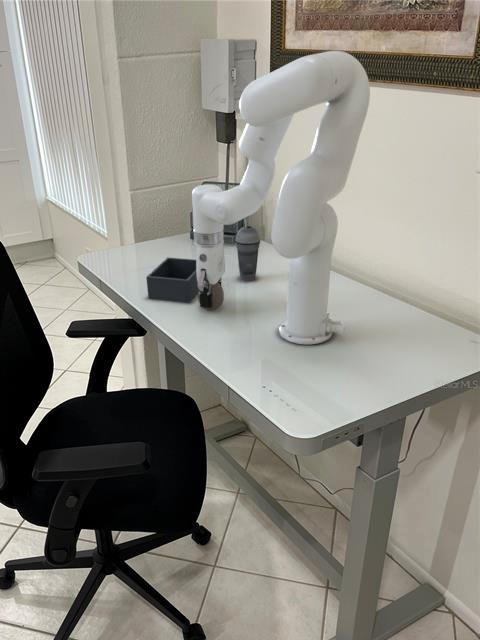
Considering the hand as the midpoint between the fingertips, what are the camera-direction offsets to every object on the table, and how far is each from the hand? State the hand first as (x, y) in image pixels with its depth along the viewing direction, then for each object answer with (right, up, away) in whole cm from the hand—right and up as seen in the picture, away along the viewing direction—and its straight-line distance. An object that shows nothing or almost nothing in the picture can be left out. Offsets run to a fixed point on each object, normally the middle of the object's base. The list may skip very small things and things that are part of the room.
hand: (211, 300), depth 157 cm
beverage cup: (+11, +9, +17) cm, 22 cm away
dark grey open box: (-9, +5, +12) cm, 16 cm away
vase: (0, -2, +1) cm, 2 cm away
